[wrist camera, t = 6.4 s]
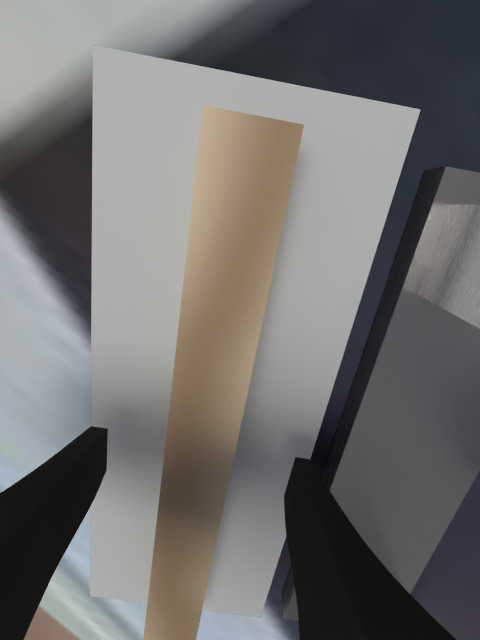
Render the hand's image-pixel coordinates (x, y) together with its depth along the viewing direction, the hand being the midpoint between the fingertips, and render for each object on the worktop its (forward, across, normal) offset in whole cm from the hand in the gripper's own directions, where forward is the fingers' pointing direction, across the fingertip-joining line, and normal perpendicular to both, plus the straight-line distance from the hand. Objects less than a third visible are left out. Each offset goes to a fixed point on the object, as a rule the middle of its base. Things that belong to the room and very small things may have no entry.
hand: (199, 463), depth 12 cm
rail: (+2, 0, 0) cm, 2 cm away
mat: (+3, 0, 0) cm, 3 cm away
